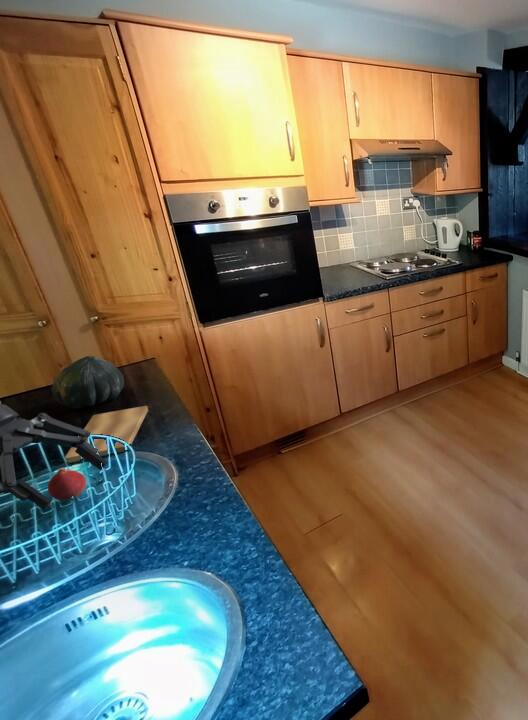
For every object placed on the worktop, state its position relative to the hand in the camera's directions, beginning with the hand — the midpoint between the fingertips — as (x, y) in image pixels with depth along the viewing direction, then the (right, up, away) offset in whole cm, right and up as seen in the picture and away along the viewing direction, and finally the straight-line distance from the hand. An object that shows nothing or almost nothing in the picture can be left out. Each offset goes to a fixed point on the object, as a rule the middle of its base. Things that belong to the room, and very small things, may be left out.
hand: (77, 484), depth 95 cm
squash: (-31, +12, +37) cm, 50 cm away
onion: (-3, -4, +2) cm, 5 cm away
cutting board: (-13, +6, +23) cm, 27 cm away
